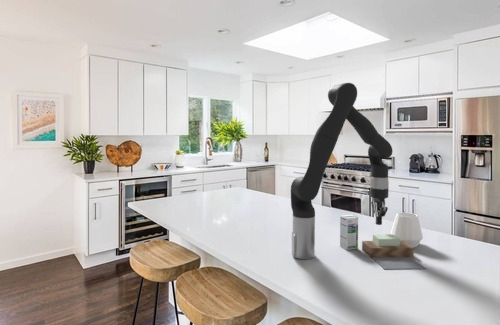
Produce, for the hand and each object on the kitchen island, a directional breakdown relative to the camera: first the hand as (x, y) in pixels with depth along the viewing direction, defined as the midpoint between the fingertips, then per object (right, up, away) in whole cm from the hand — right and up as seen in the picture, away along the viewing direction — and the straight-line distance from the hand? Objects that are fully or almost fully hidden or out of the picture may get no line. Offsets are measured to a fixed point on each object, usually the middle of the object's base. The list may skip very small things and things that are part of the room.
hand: (378, 224), depth 144 cm
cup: (+14, -10, +3) cm, 17 cm away
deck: (0, -11, -9) cm, 14 cm away
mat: (0, -12, -19) cm, 22 cm away
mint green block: (0, -5, -8) cm, 10 cm away
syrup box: (-14, -10, -1) cm, 18 cm away
